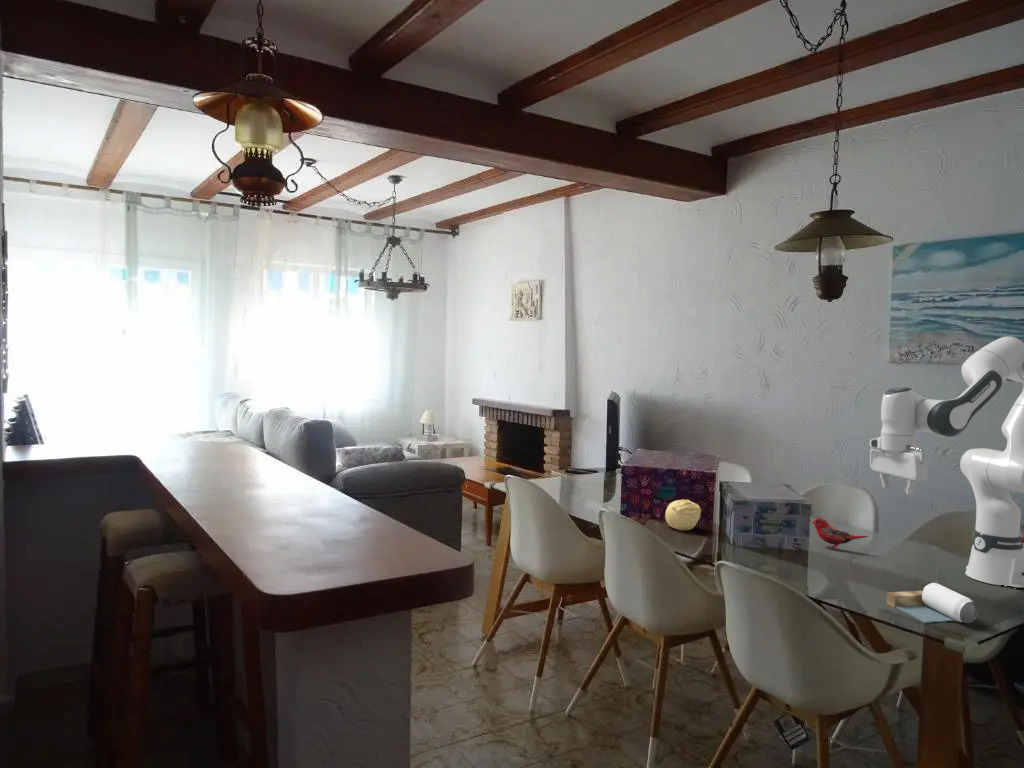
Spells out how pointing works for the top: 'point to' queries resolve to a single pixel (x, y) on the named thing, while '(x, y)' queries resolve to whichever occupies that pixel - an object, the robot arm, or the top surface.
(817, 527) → the decorative bird figurine
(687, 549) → the top surface
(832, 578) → the top surface
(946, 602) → the can
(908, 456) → the robot arm
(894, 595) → the oak rail
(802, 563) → the top surface
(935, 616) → the felt mat
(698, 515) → the pale yellow round lump
